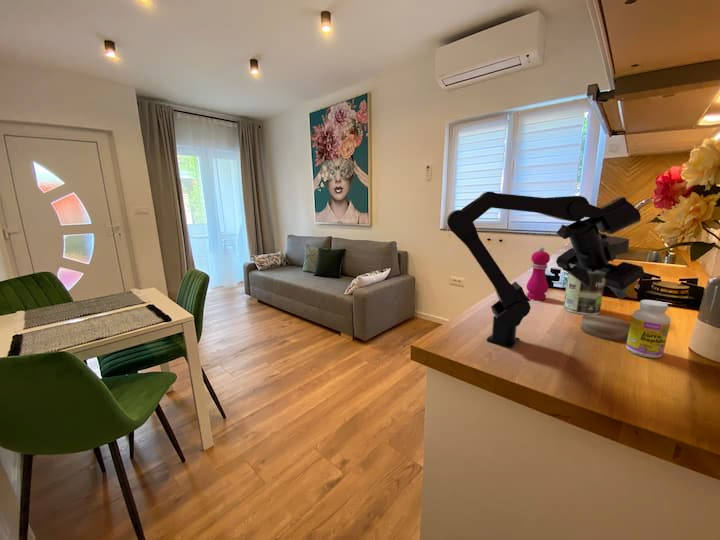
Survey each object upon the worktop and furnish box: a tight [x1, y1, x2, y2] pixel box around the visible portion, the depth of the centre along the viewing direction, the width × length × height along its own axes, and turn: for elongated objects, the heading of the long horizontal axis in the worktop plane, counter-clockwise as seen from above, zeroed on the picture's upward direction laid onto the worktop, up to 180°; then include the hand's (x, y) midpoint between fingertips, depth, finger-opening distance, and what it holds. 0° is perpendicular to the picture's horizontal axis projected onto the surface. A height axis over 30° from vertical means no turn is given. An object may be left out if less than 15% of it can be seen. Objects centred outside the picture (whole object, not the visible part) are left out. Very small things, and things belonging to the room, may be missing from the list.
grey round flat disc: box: [580, 314, 631, 342], centre depth 84 cm, size 11×11×4 cm
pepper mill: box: [526, 246, 551, 301], centre depth 113 cm, size 7×7×20 cm
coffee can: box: [562, 270, 606, 316], centre depth 100 cm, size 10×10×14 cm
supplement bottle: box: [625, 299, 672, 359], centre depth 71 cm, size 7×7×13 cm
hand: (604, 291), depth 77 cm, fingers open, 9 cm apart
